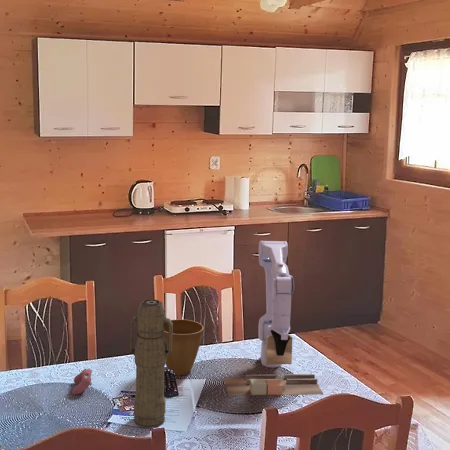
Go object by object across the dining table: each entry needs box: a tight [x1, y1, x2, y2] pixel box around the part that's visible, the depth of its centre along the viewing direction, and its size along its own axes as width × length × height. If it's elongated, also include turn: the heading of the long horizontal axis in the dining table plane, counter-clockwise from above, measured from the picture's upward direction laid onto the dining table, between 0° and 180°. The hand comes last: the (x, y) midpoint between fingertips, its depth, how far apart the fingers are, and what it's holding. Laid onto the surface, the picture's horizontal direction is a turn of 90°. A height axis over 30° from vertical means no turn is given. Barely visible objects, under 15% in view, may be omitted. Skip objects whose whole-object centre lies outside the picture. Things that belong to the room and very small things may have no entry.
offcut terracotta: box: [266, 380, 283, 396], centre depth 204 cm, size 4×5×3 cm
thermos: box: [129, 298, 173, 429], centre depth 182 cm, size 9×12×35 cm
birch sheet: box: [266, 334, 294, 365], centre depth 210 cm, size 2×8×9 cm, turn 95°
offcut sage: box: [250, 379, 267, 396], centre depth 203 cm, size 4×5×4 cm
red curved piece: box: [71, 367, 93, 396], centre depth 203 cm, size 10×5×7 cm, turn 10°
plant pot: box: [164, 318, 204, 377], centre depth 218 cm, size 15×15×16 cm
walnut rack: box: [223, 373, 324, 397], centre depth 208 cm, size 13×30×2 cm, turn 96°
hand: (279, 353), depth 210 cm, fingers closed on birch sheet, 2 cm apart
